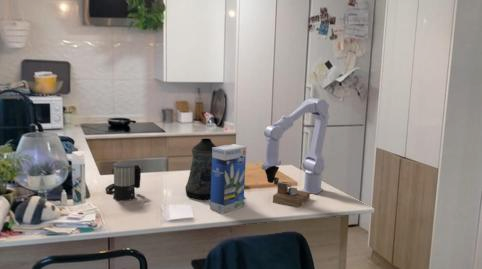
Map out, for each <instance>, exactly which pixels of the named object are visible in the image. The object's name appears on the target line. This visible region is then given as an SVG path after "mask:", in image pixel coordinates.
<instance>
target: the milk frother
mask: <svg viewBox="0 0 482 269" xmlns="http://www.w3.org/2000/svg"><path fill="white" fill-rule="evenodd" d="M112 165H113V183H111V184H108V185H107V186H106V187H105V192H106V193H108V194H113V200H116V201H130V200H131V201H132V200H133V199H135V198H136V193H135V191H136V190H135V188H136V189H139V188H140V187H141V174H142V170H141V167H140V166H139V165H138V164H136V163H135V162H132V161H118V162H115V163H112Z"/></svg>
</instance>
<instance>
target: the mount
mask: <svg viewBox="0 0 482 269" xmlns="http://www.w3.org/2000/svg"><path fill="white" fill-rule="evenodd" d="M280 182H282V183H288V184H289V182H288V181H283V180H282V181H281V180H280ZM288 194H289V187H285V184H281V183H278V185H277V192H276V193H275V194H273V195H272V203H276V204H280V203H281V204H280V205H285V204H287V206H290V205H292V206H291V207H296V206H297V207H296V208H300V207H301V206H302V205H304V204H305V203H306V202H307V201H308V200H310V198H311V196H310V195H311V193H310V192H305V191H301V190H300V189H299V190H298V189H297V195H296V196H291V195H288ZM303 203H304V204H303ZM299 206H300V207H299Z"/></svg>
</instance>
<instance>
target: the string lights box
mask: <svg viewBox="0 0 482 269" xmlns="http://www.w3.org/2000/svg"><path fill="white" fill-rule="evenodd" d="M246 157H247V145H246V146H245V145H241V144H236V143H233V144H224V145H220V146H216V147H213V148H212V173H211V199H210V200H209V209H210V210H212V211H215V212H218V213H221V214H224V213H228V212H230V211H235V210H237V209H241V208H244V204H245V203H244V201H245V185H246V184H245V182H246V181H245V180H246V162H247V161H246V160H247V158H246Z"/></svg>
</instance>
